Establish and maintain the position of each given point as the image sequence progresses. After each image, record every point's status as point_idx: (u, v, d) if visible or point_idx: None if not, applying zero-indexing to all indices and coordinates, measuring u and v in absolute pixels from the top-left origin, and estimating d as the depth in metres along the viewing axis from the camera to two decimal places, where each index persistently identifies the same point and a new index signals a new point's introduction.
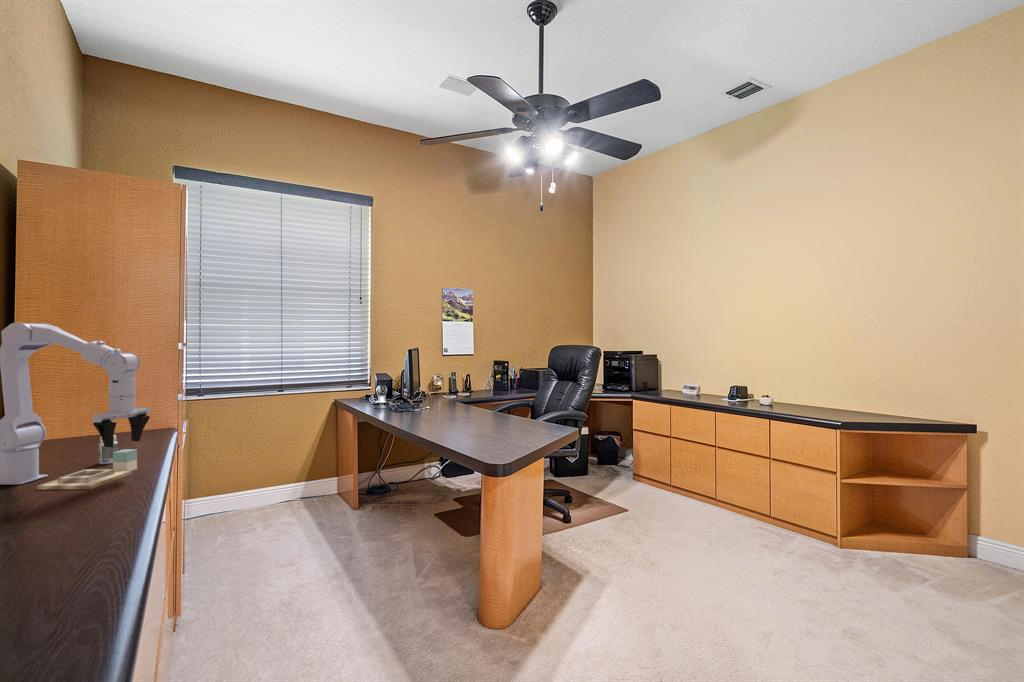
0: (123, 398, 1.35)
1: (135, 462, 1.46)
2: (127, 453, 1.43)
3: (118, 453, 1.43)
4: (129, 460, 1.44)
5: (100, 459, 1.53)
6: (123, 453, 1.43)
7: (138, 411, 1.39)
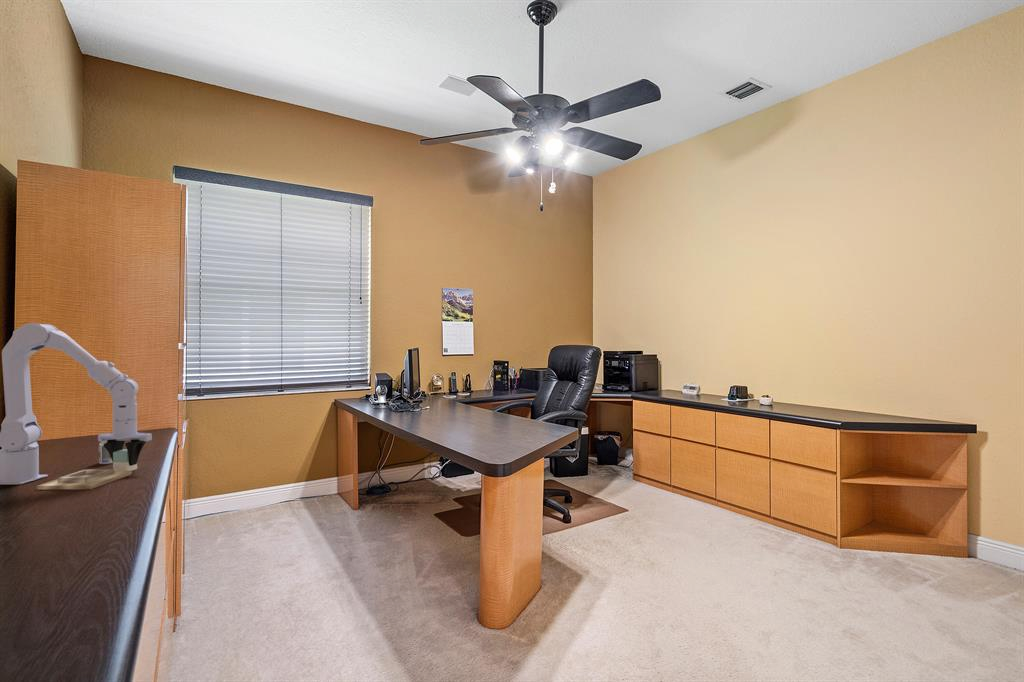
0: (113, 422, 1.43)
1: None
2: (127, 453, 1.43)
3: (118, 453, 1.43)
4: None
5: (100, 459, 1.53)
6: (123, 453, 1.43)
7: (128, 436, 1.43)
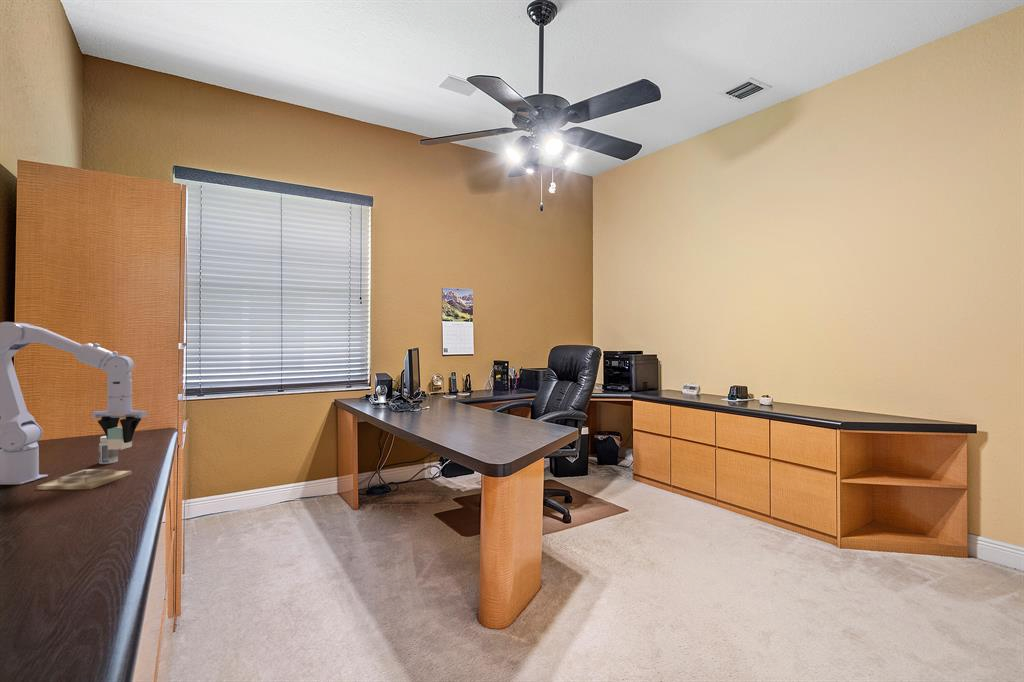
0: (107, 399, 1.41)
1: None
2: (122, 430, 1.42)
3: (113, 430, 1.41)
4: None
5: (100, 459, 1.53)
6: (118, 430, 1.41)
7: (123, 413, 1.41)
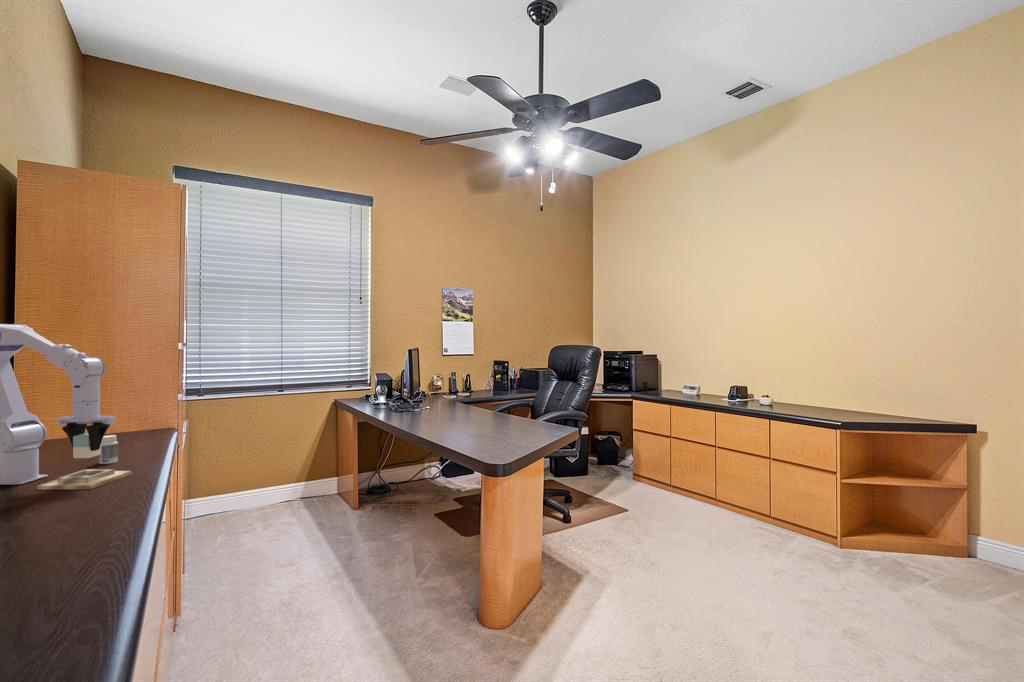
0: None
1: None
2: (88, 437, 1.32)
3: (79, 437, 1.32)
4: None
5: (100, 459, 1.53)
6: (84, 437, 1.32)
7: (89, 419, 1.32)
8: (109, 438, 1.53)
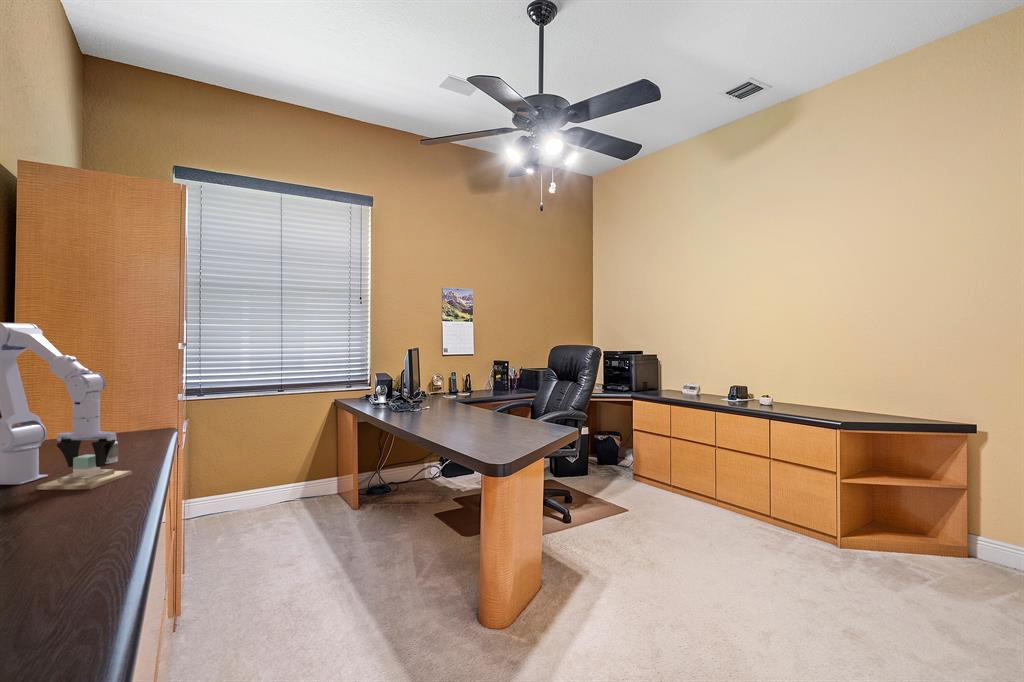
0: (73, 420, 1.31)
1: (98, 468, 1.35)
2: (88, 459, 1.32)
3: (79, 459, 1.32)
4: (91, 466, 1.33)
5: None
6: (84, 459, 1.32)
7: (89, 436, 1.32)
8: None
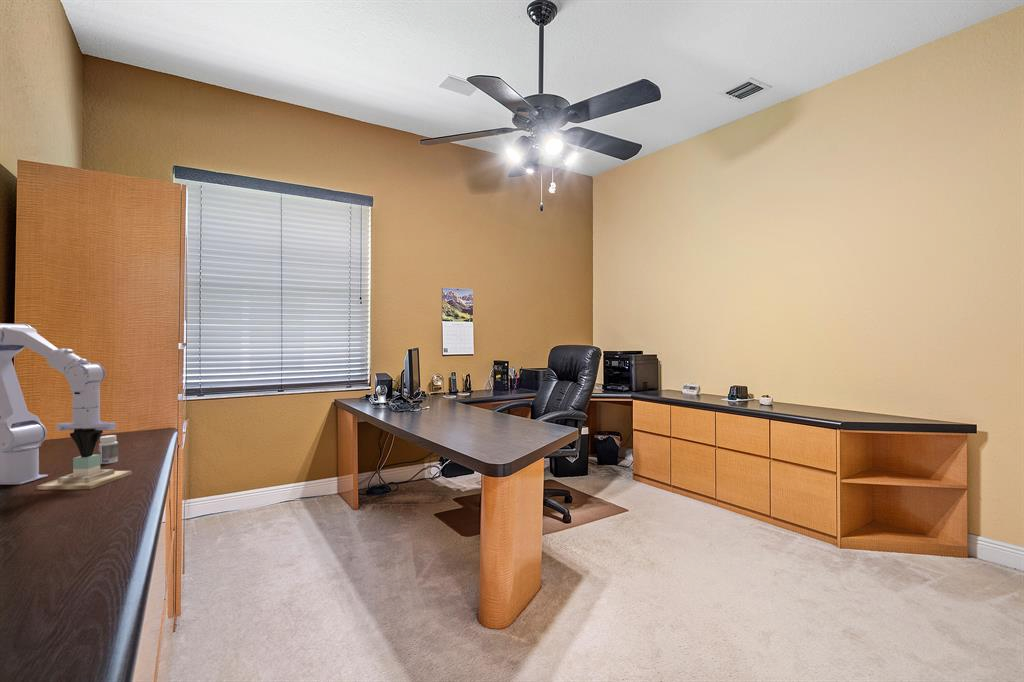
0: (73, 410, 1.31)
1: (98, 468, 1.35)
2: (88, 459, 1.32)
3: (79, 459, 1.32)
4: (91, 466, 1.33)
5: (100, 459, 1.53)
6: (84, 459, 1.32)
7: (89, 425, 1.32)
8: (109, 438, 1.53)
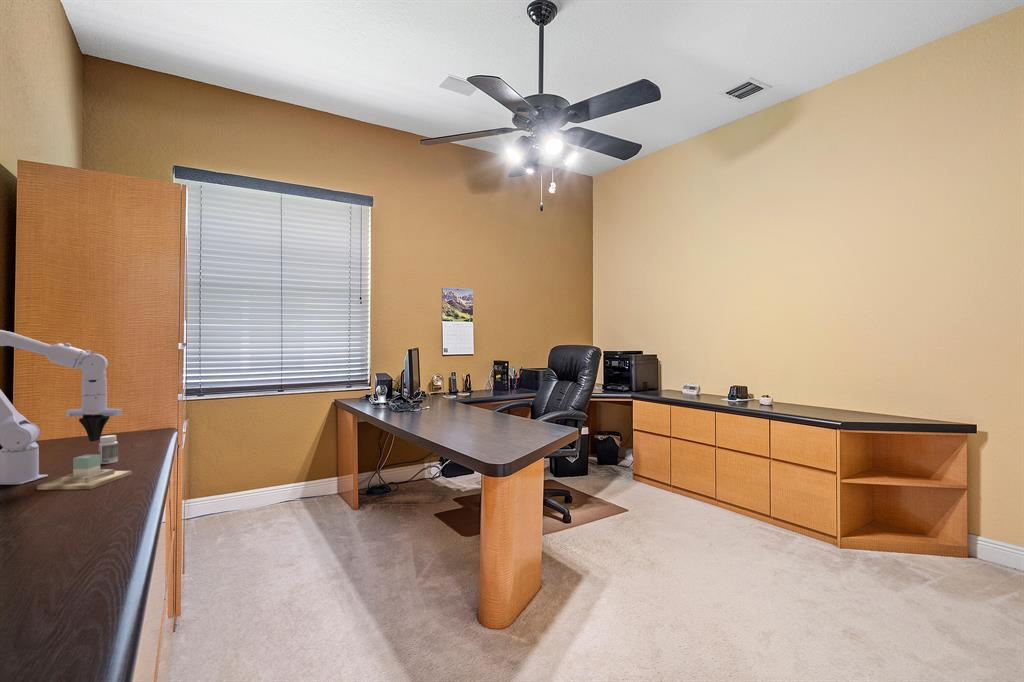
0: (82, 397, 1.41)
1: (98, 468, 1.35)
2: (88, 459, 1.32)
3: (79, 459, 1.32)
4: (91, 466, 1.33)
5: (100, 459, 1.53)
6: (84, 459, 1.32)
7: (98, 411, 1.41)
8: (109, 438, 1.53)
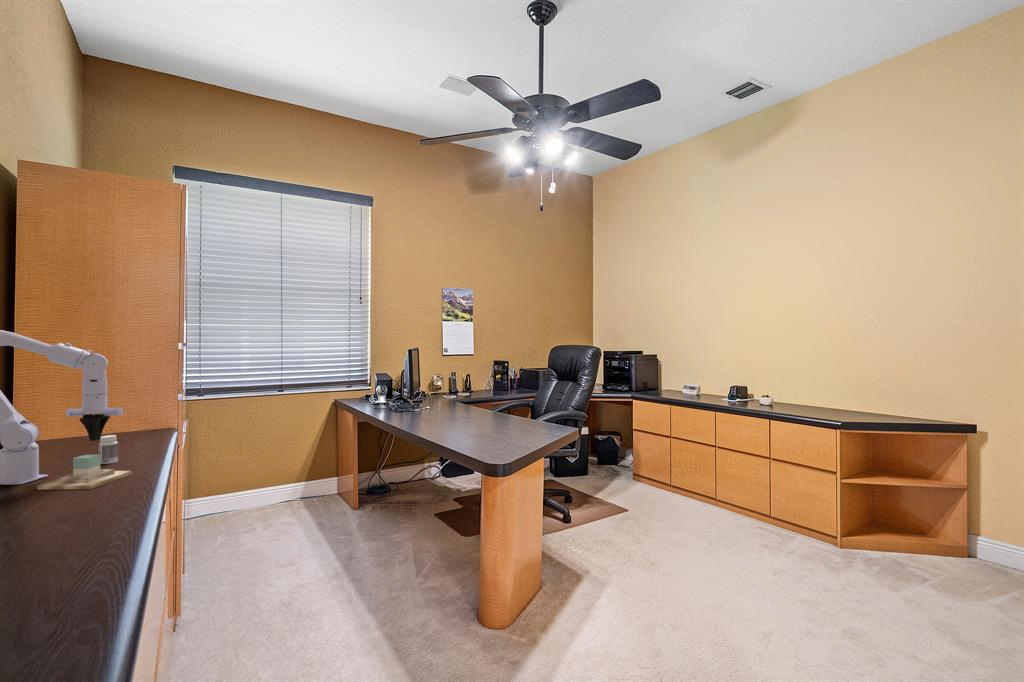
0: (82, 397, 1.41)
1: (98, 468, 1.35)
2: (88, 459, 1.32)
3: (79, 459, 1.32)
4: (91, 466, 1.33)
5: (100, 459, 1.53)
6: (84, 459, 1.32)
7: (99, 411, 1.42)
8: (109, 438, 1.53)
